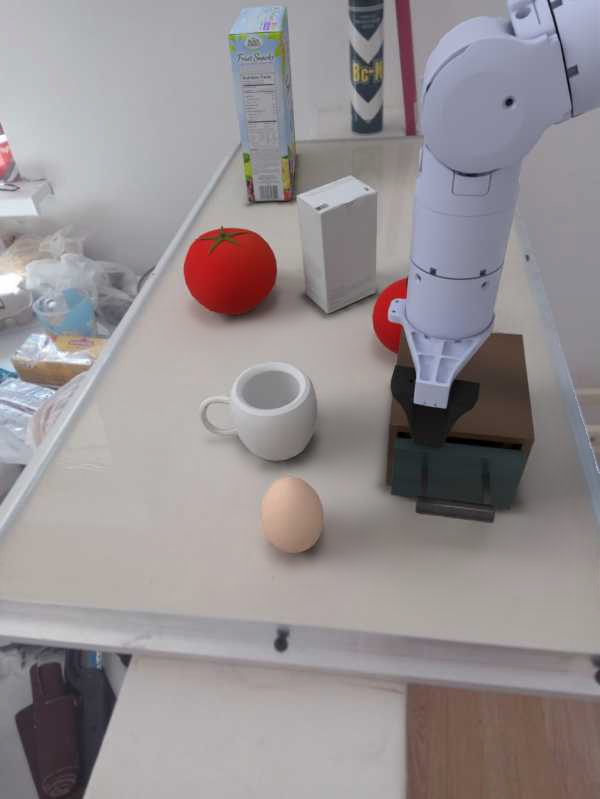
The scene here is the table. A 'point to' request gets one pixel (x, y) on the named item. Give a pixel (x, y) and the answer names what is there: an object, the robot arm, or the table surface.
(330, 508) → the table surface
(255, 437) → the mug
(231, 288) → the tomato
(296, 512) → the egg
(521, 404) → the cabinet
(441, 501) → the drawer
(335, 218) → the cosmetic box
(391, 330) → the ornament
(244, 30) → the snack box
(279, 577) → the table surface
